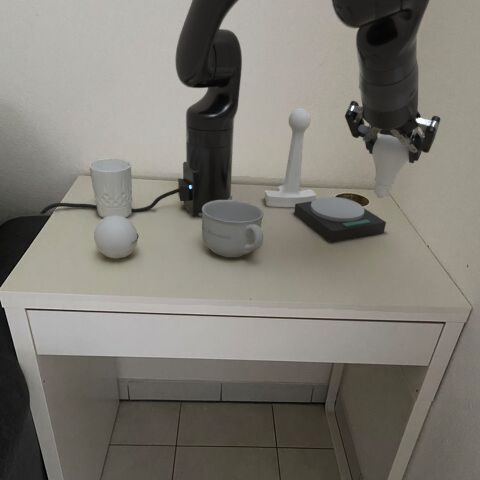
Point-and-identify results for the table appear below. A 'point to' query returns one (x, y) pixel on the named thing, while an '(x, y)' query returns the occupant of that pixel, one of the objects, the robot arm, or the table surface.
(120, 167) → the white cup
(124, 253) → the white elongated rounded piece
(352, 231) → the scale
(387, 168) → the lightbulb
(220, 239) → the teacup
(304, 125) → the joystick
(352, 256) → the table surface
